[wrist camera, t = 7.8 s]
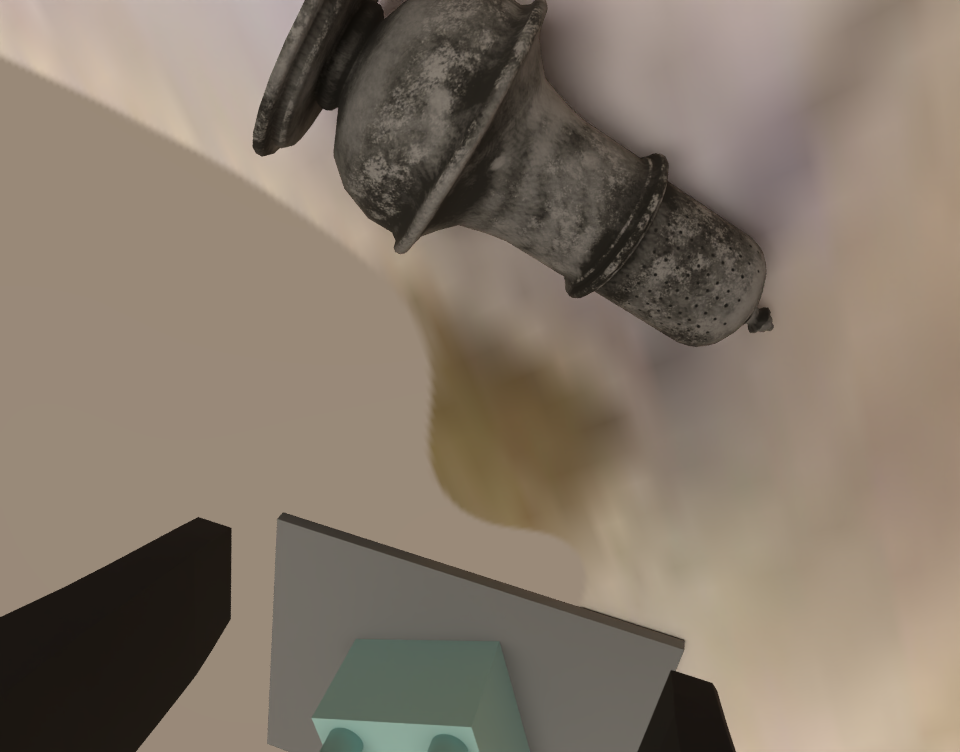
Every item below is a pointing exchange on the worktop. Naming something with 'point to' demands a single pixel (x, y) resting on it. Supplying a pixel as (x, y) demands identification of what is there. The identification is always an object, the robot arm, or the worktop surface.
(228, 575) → the robot arm
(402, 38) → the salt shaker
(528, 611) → the mat
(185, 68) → the worktop surface
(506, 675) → the stool
